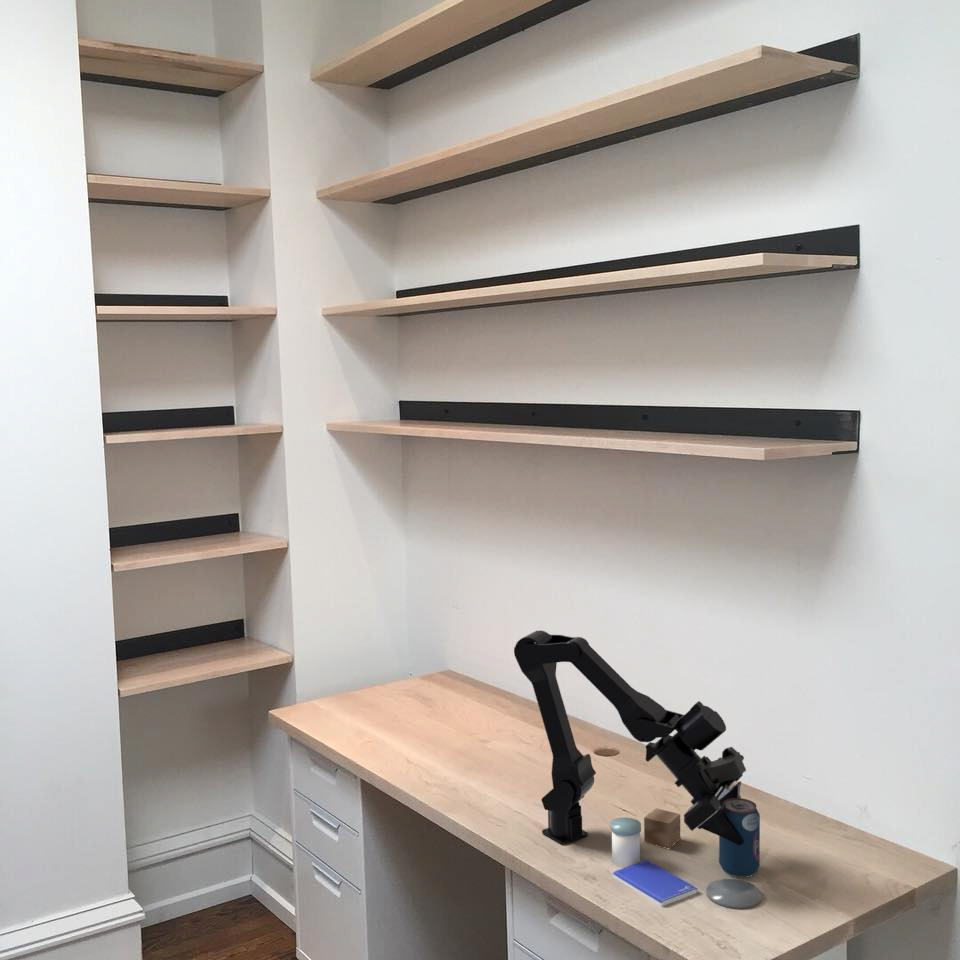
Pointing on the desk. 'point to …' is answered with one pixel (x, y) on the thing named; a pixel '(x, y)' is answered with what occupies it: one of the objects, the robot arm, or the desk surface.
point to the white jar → (625, 841)
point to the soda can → (747, 823)
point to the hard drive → (655, 883)
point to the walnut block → (662, 828)
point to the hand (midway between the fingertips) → (747, 835)
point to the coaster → (734, 893)
